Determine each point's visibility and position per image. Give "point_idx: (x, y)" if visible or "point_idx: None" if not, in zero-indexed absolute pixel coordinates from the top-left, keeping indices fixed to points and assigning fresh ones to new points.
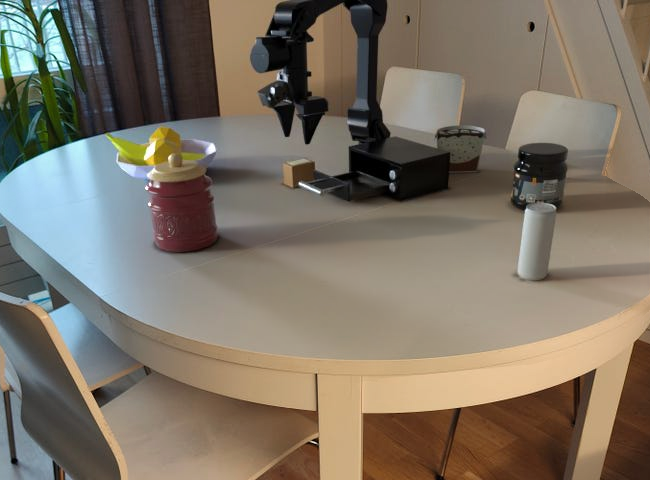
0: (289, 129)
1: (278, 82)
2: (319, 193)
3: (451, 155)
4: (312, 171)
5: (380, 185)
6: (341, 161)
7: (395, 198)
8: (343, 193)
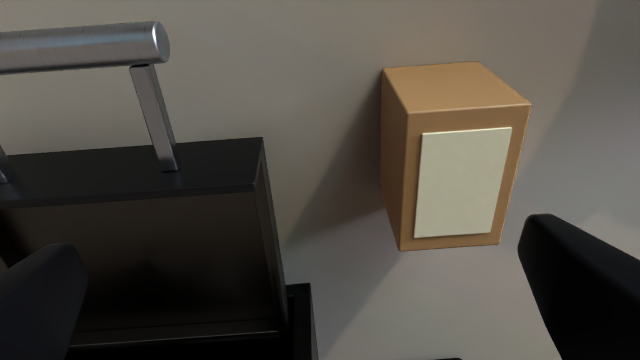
0: (557, 317)
1: None
2: None
3: None
4: (389, 206)
5: (111, 322)
6: (531, 348)
7: None
8: None
